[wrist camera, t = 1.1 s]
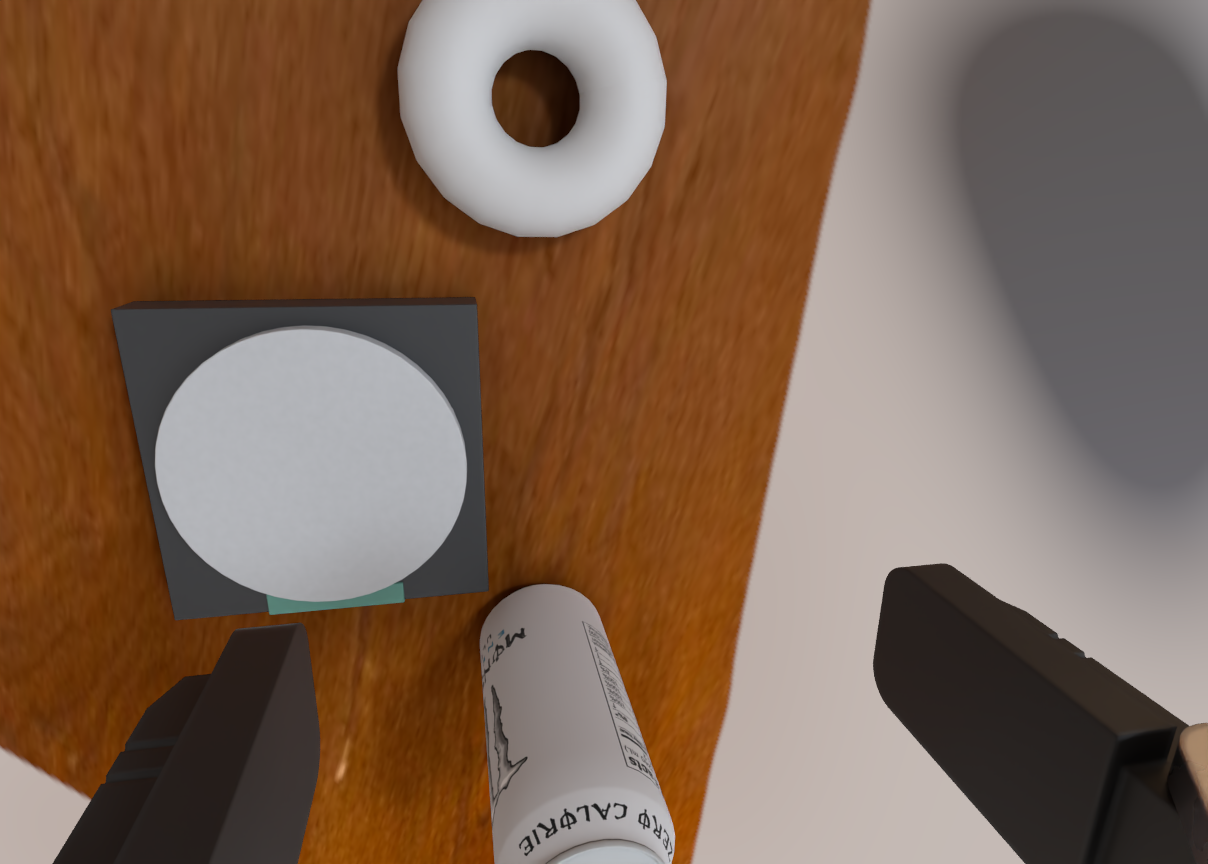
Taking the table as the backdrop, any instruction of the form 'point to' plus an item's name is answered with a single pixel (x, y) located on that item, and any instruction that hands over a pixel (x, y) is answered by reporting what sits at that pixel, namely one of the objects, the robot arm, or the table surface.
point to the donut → (495, 160)
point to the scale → (309, 449)
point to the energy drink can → (564, 739)
